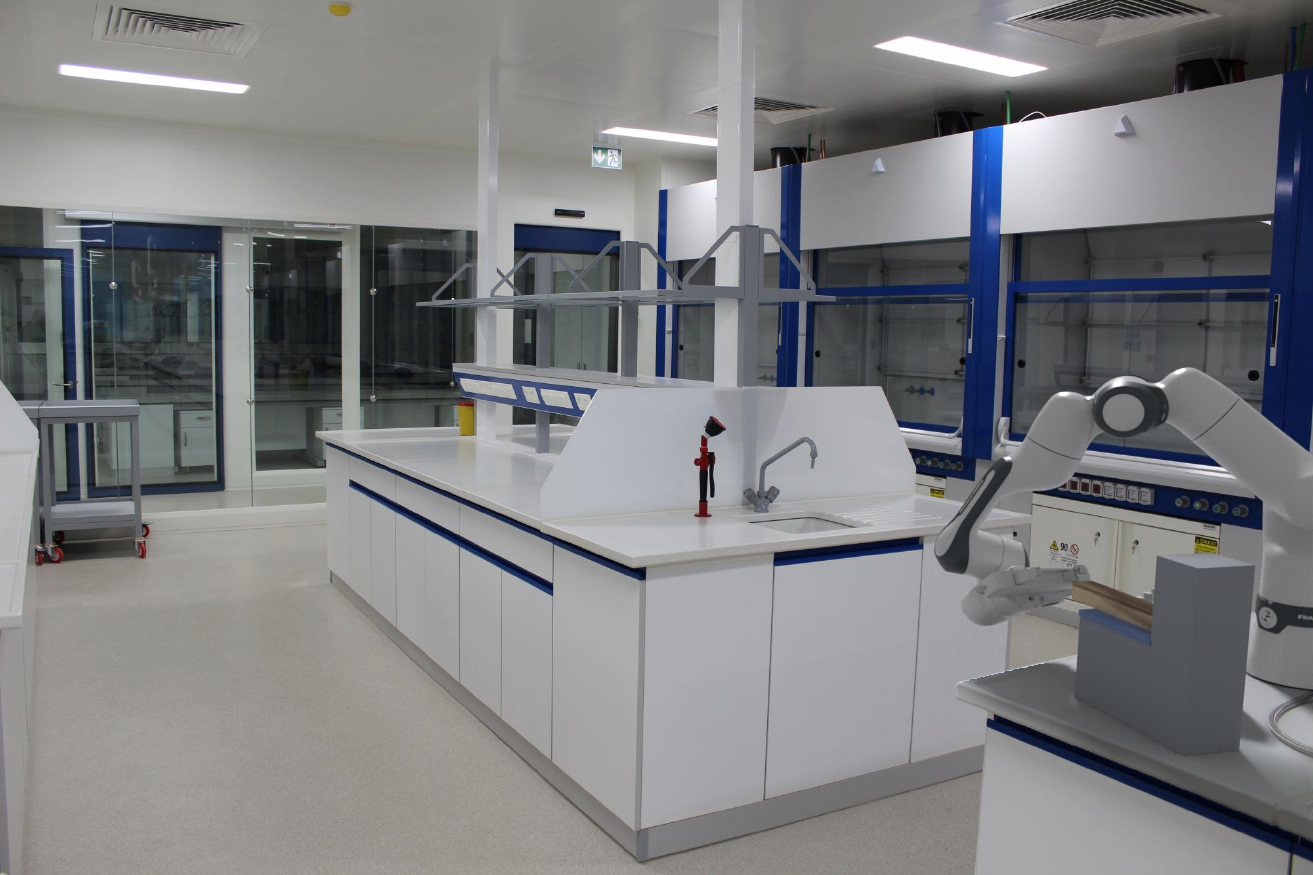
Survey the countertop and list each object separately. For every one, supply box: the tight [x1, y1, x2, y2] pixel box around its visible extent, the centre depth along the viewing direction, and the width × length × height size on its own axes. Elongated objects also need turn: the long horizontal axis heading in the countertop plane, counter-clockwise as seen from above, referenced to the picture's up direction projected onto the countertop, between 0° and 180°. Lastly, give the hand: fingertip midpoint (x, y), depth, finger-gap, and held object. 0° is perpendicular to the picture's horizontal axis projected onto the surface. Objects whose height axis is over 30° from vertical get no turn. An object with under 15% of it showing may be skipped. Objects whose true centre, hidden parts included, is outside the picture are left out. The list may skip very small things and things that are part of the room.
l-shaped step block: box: [1074, 552, 1256, 757], centre depth 155 cm, size 10×24×28 cm, turn 15°
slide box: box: [1071, 580, 1153, 631], centre depth 163 cm, size 4×20×3 cm, turn 15°
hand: (1060, 570), depth 178 cm, fingers open, 8 cm apart
